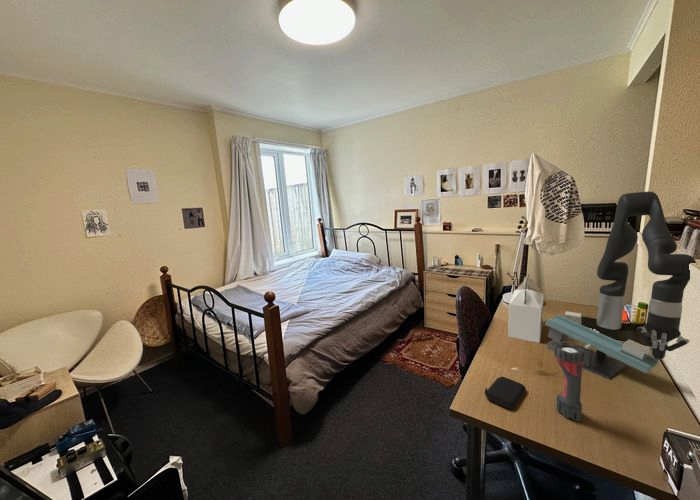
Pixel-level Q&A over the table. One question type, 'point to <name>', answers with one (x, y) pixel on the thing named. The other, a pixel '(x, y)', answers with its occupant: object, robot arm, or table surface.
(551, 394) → the table surface
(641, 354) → the steel slider
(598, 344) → the seesaw beam
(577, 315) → the skincare box
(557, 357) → the flashlight
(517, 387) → the carrying case or bag
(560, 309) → the table surface
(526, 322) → the gable box
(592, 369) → the beam stand
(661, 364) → the table surface
